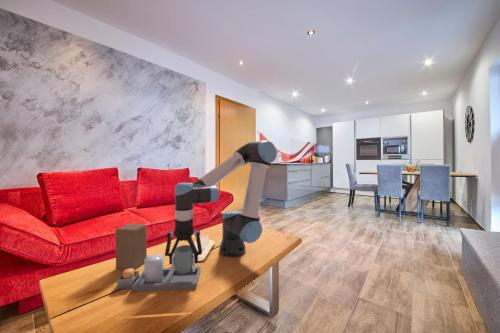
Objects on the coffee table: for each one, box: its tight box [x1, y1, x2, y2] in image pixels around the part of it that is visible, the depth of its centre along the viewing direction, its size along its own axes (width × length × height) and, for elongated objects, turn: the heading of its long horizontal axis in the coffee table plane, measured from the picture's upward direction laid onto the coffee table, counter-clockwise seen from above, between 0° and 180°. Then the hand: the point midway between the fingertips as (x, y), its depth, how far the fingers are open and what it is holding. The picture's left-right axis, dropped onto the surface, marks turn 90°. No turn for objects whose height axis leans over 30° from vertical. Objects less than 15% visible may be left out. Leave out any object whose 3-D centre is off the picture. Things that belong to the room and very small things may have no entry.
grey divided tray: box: [131, 266, 202, 293], centre depth 91 cm, size 25×14×3 cm, turn 96°
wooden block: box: [115, 222, 148, 271], centre depth 104 cm, size 10×10×20 cm
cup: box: [173, 244, 194, 274], centre depth 92 cm, size 8×8×10 cm
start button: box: [122, 268, 135, 278], centre depth 88 cm, size 4×4×4 cm
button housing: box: [116, 270, 140, 290], centre depth 88 cm, size 6×6×4 cm
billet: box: [143, 253, 165, 284], centre depth 91 cm, size 8×8×10 cm
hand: (183, 270), depth 92 cm, fingers closed on cup, 8 cm apart
